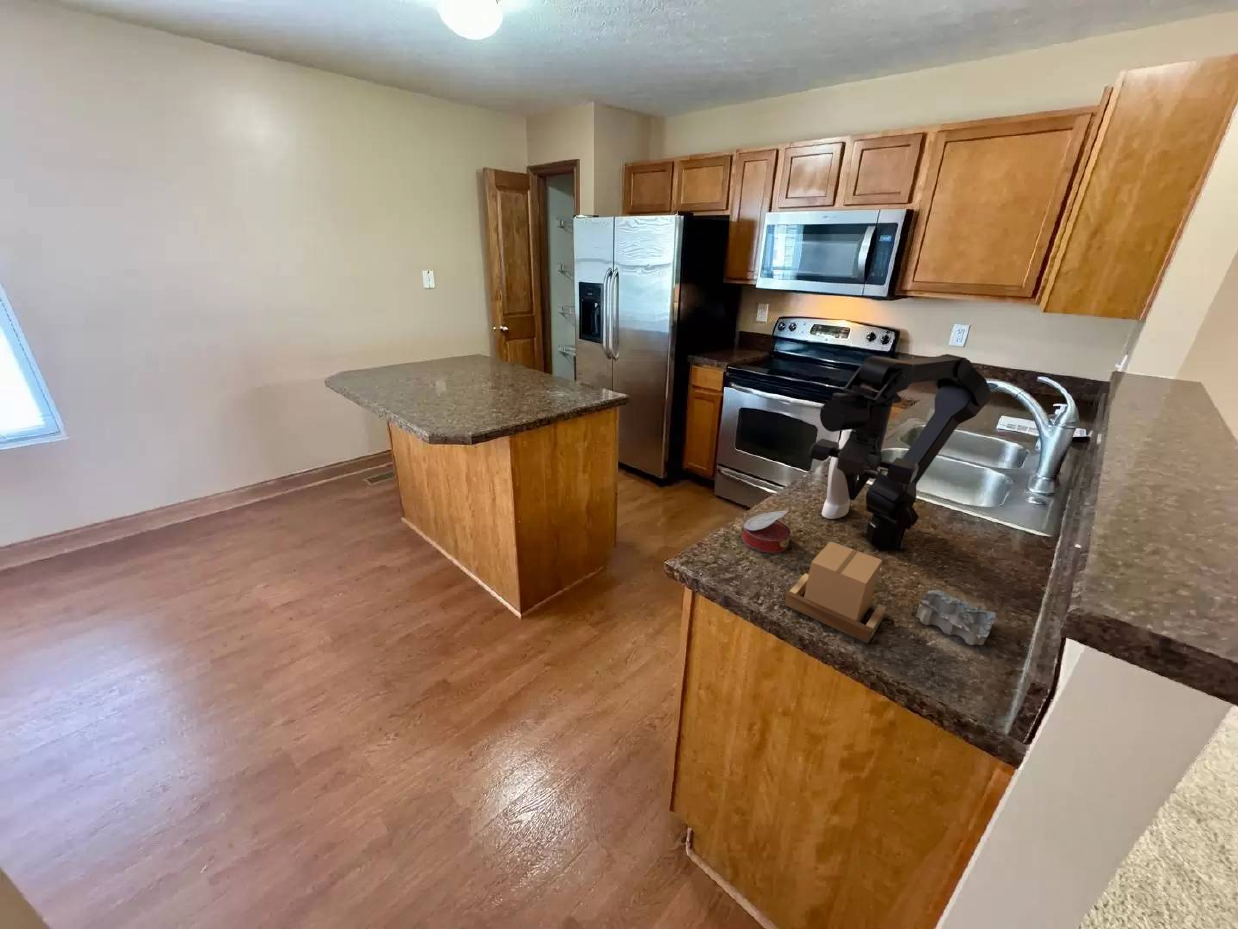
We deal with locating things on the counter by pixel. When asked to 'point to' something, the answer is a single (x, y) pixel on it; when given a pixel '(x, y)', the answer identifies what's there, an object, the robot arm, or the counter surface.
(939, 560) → the counter surface
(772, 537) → the canned food
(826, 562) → the cardboard box
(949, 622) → the egg carton
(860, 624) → the bay
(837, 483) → the soap bottle
